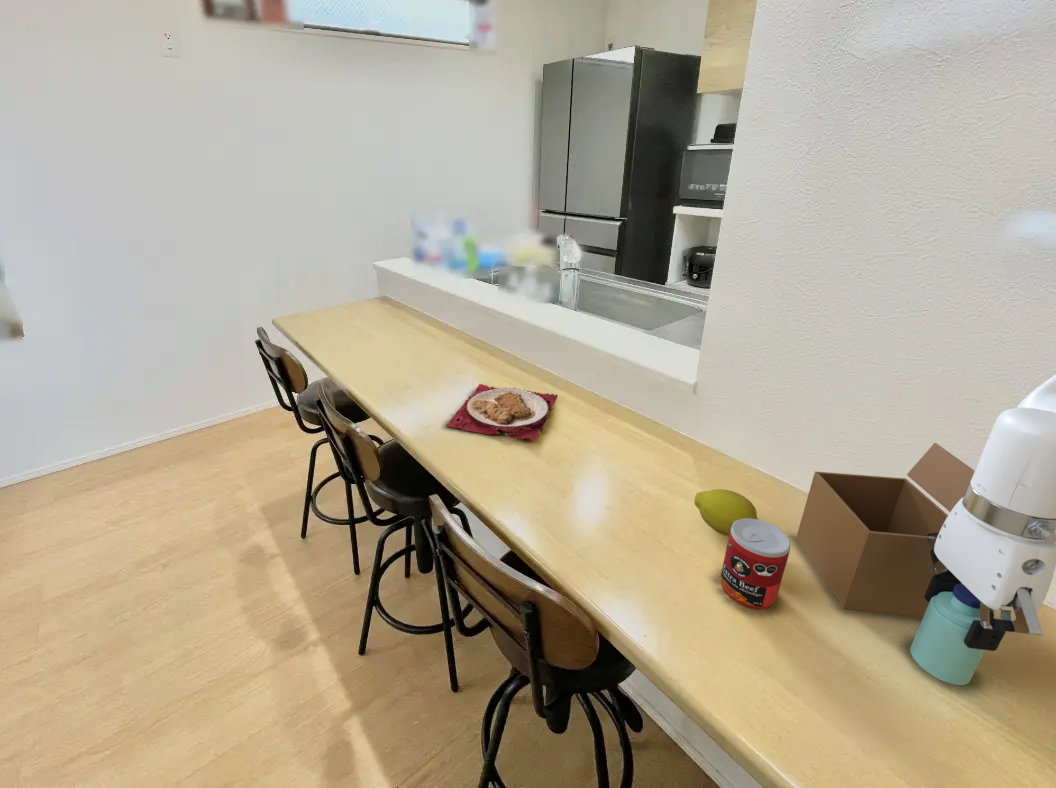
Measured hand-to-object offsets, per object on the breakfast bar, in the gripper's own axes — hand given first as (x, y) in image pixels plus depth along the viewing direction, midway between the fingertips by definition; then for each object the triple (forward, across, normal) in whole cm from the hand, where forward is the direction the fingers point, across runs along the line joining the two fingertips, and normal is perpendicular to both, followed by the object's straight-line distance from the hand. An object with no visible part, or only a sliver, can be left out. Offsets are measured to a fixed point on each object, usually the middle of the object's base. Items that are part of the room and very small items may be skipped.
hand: (957, 622), depth 64 cm
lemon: (+8, +23, +20) cm, 31 cm away
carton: (+7, +15, +1) cm, 17 cm away
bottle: (+7, 0, 0) cm, 7 cm away
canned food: (+8, +9, +21) cm, 24 cm away
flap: (-11, +15, -7) cm, 20 cm away
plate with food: (+8, +62, +63) cm, 89 cm away
